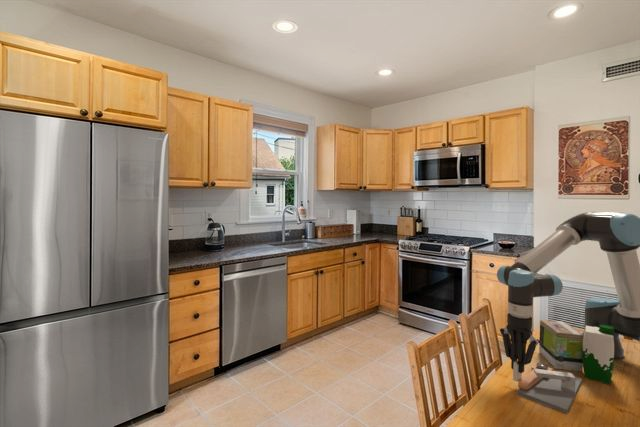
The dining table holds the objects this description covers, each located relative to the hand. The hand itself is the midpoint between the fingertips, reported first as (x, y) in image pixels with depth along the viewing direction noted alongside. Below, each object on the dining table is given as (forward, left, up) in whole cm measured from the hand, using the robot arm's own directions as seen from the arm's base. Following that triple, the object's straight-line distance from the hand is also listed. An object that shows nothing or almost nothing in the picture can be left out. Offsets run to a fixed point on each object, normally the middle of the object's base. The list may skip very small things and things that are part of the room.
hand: (517, 379), depth 118 cm
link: (-8, -1, -1) cm, 8 cm away
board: (-12, +2, -3) cm, 12 cm away
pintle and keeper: (-12, +2, -2) cm, 12 cm away
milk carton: (-35, -1, -3) cm, 35 cm away
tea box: (-32, -14, -3) cm, 35 cm away
